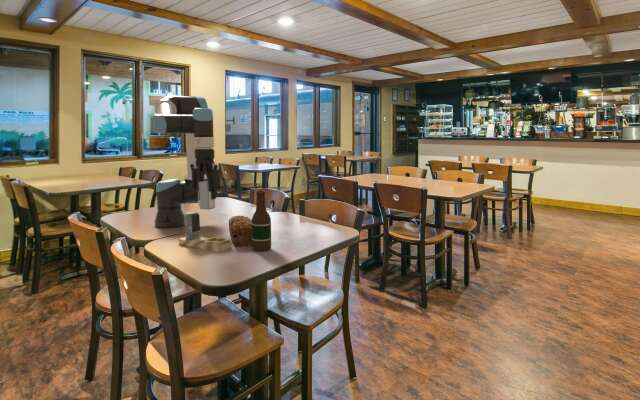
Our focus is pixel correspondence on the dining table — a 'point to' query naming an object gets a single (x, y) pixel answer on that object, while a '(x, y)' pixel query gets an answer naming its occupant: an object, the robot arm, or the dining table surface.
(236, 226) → the bread
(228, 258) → the dining table surface
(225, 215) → the dining table surface
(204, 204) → the block
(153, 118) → the robot arm
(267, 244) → the beer bottle
